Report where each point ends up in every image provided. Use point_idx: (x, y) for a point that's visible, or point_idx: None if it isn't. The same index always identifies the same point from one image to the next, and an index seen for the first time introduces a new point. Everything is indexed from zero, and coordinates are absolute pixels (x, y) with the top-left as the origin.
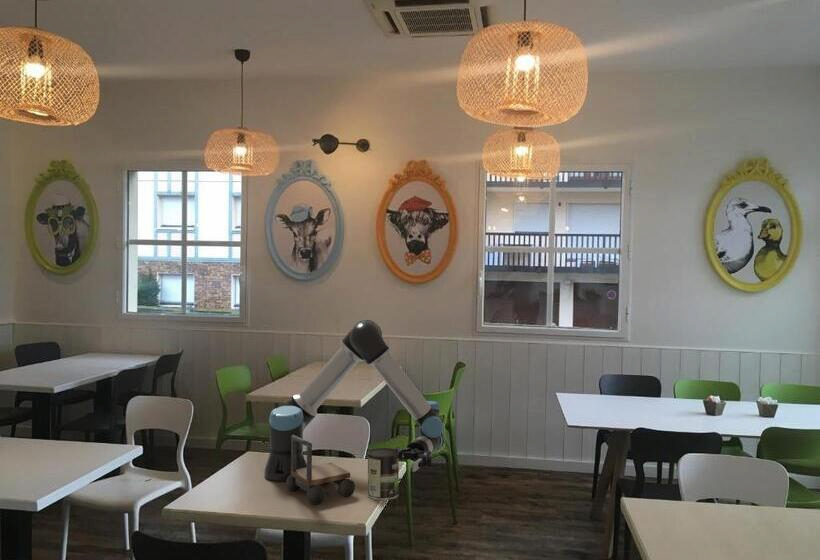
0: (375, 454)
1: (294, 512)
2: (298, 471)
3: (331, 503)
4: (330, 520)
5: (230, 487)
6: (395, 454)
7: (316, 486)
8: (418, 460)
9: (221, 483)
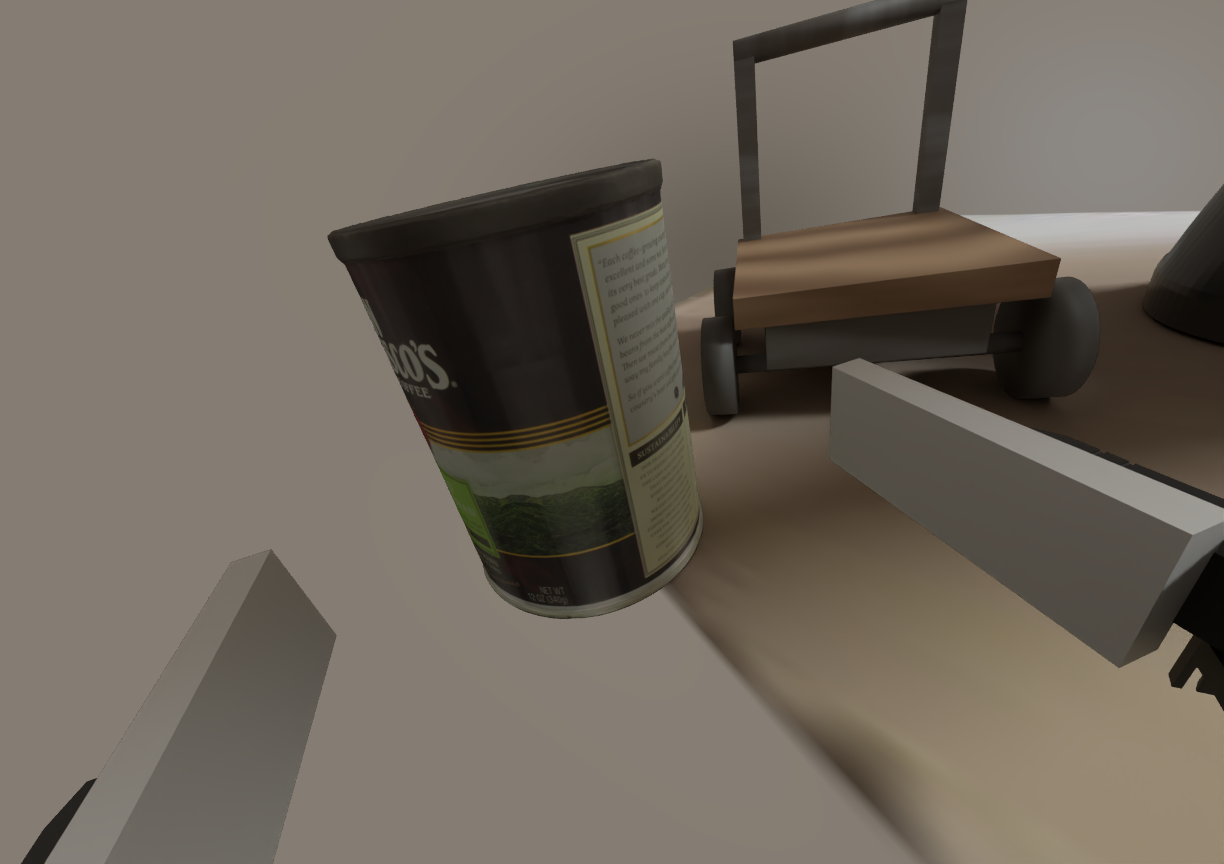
0: (527, 189)
1: (704, 311)
2: (904, 217)
3: (694, 365)
4: None
5: (1081, 239)
6: (349, 227)
7: (717, 270)
8: (116, 776)
9: (1156, 225)
